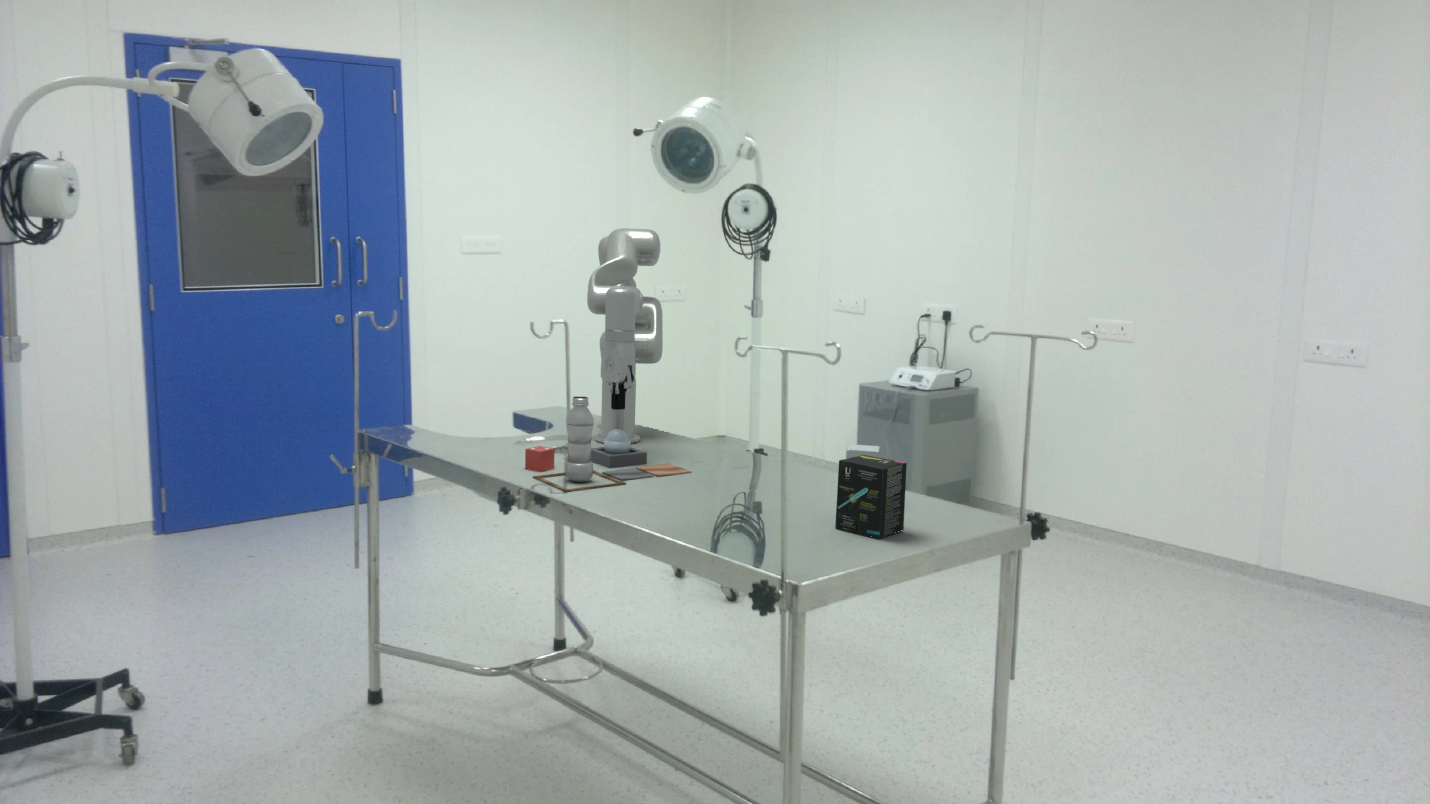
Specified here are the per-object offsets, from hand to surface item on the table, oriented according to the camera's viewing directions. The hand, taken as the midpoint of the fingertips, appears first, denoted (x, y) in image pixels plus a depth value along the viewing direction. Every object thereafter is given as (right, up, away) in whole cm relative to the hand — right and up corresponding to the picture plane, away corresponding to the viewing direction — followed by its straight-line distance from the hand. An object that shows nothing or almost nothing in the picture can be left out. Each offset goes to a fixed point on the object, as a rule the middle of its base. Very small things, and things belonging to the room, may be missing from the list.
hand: (618, 408), depth 271 cm
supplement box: (+58, -21, -29) cm, 68 cm away
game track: (+1, -16, -14) cm, 21 cm away
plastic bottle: (-7, -17, -20) cm, 27 cm away
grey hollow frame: (-1, -14, +3) cm, 14 cm away
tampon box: (+56, -25, -53) cm, 81 cm away
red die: (-19, -15, -8) cm, 25 cm away
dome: (0, -11, +2) cm, 11 cm away
